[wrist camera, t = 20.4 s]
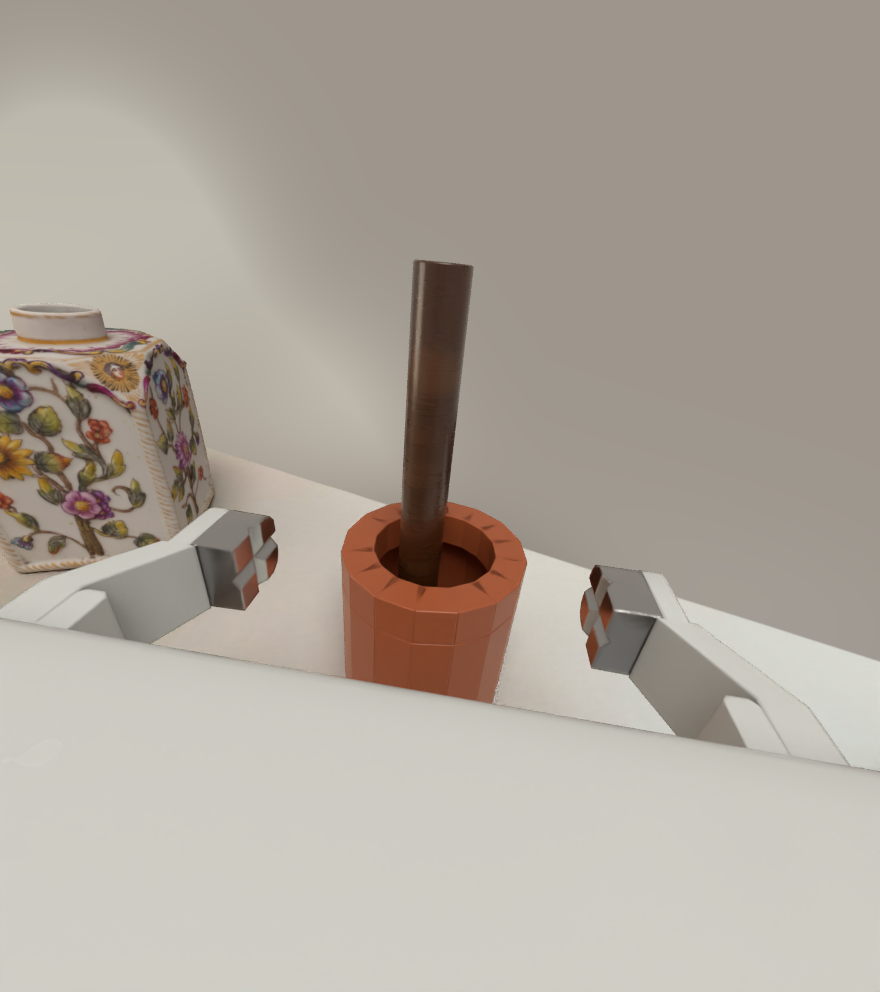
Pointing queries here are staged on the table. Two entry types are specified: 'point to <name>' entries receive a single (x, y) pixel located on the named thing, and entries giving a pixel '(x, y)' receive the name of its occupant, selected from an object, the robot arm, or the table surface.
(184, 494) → the decorative jar
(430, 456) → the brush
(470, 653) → the terracotta plant pot
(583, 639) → the table surface
